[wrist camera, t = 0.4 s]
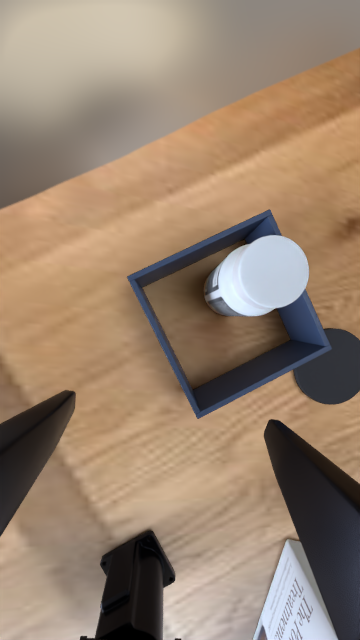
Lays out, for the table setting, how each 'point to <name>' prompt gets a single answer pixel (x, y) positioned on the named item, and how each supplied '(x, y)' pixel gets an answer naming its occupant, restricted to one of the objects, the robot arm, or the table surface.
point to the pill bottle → (258, 278)
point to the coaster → (332, 370)
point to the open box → (260, 370)
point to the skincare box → (294, 602)
